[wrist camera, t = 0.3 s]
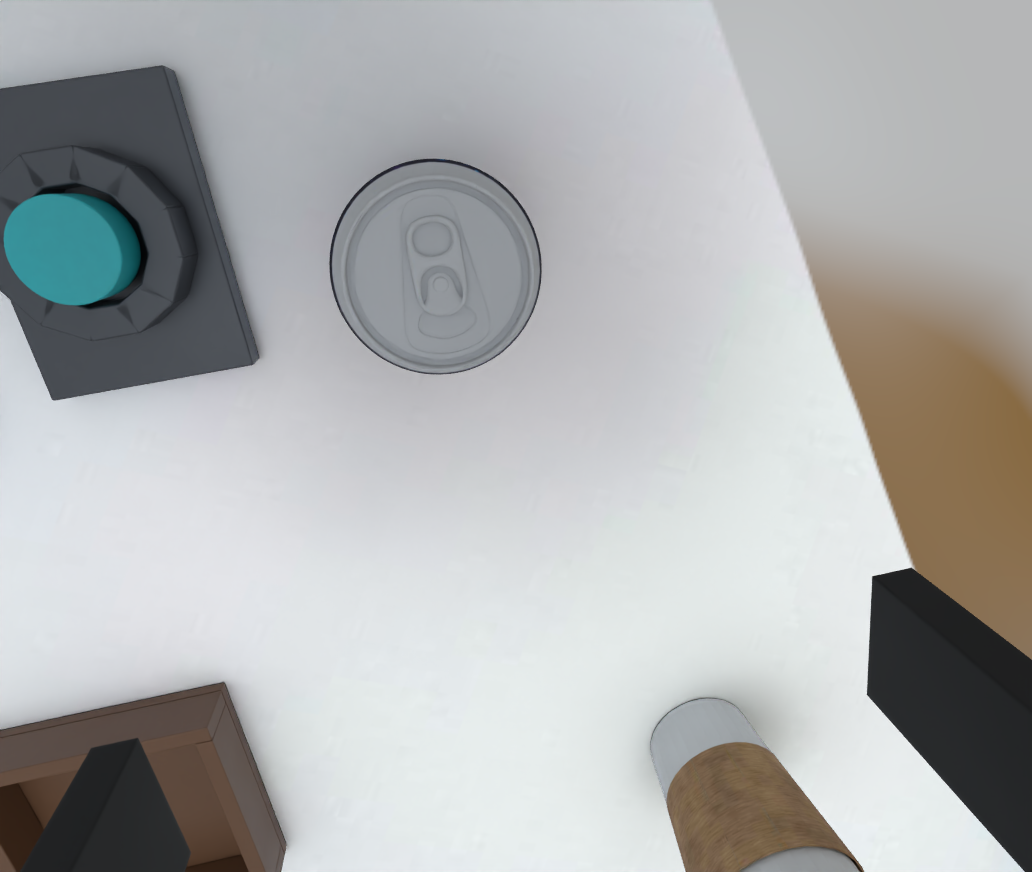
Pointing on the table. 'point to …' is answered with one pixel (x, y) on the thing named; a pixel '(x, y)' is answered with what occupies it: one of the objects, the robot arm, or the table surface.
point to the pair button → (71, 248)
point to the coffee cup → (737, 798)
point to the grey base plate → (154, 217)
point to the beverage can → (435, 266)
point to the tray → (176, 763)
